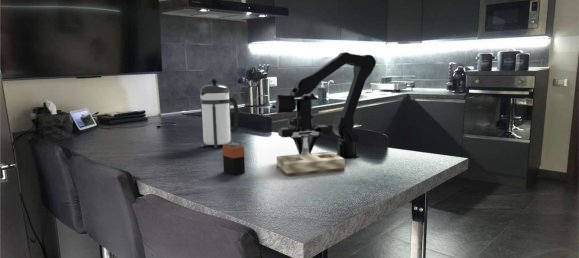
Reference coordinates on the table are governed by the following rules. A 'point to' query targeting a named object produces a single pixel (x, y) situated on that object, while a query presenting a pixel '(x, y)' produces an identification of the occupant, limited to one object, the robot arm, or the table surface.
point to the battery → (233, 158)
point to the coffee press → (217, 114)
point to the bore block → (310, 163)
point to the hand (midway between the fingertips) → (304, 153)
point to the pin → (304, 144)
